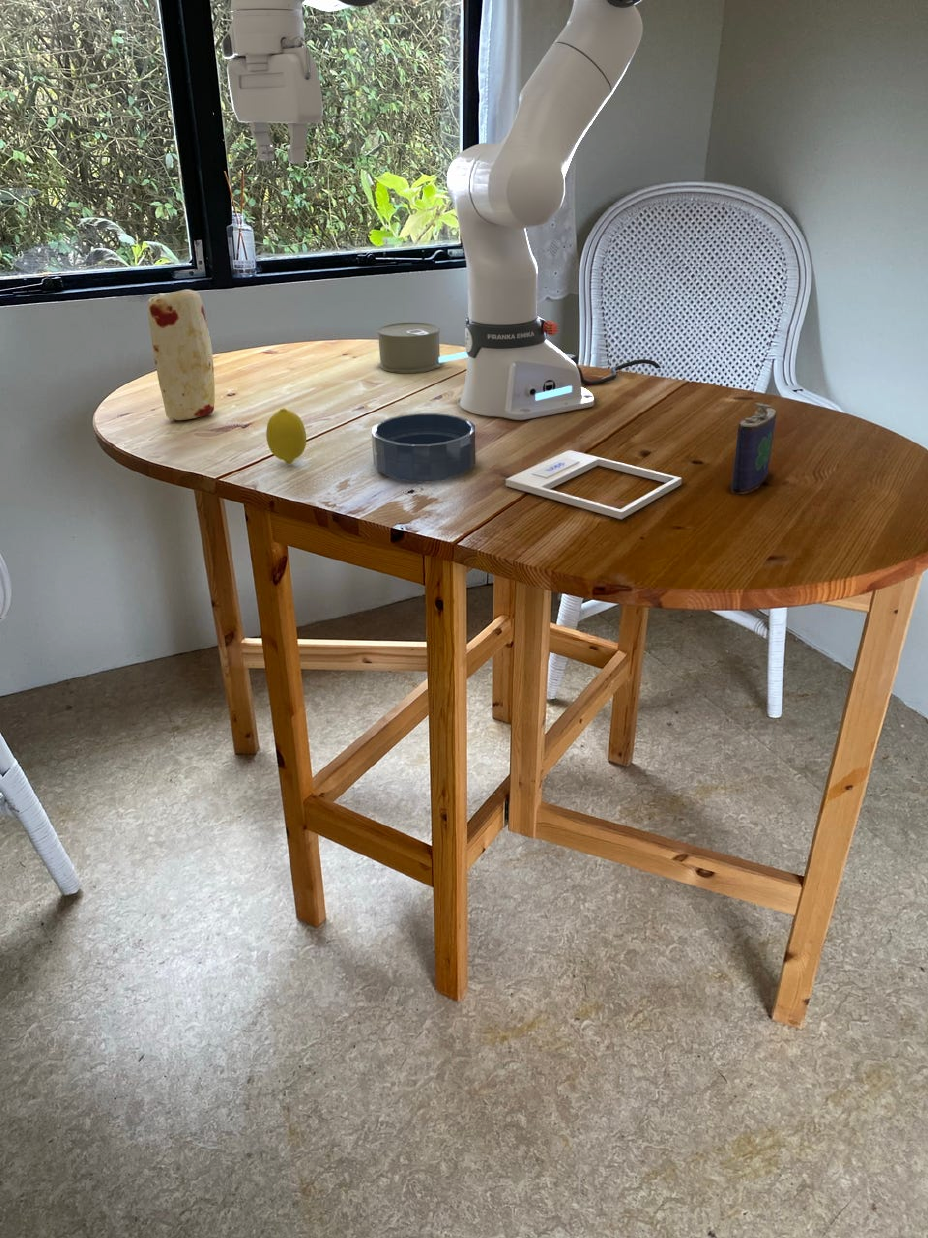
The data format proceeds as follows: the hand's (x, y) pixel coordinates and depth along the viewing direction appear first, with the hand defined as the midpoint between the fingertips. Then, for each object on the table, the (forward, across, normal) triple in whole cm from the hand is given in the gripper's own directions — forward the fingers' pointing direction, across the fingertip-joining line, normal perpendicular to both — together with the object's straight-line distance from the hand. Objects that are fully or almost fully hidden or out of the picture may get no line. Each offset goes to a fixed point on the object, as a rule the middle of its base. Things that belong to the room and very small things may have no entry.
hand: (281, 161), depth 123 cm
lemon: (+38, -9, +7) cm, 40 cm away
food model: (+38, +21, +10) cm, 45 cm away
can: (+38, +27, -35) cm, 58 cm away
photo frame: (+38, -42, -21) cm, 60 cm away
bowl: (+38, -22, -7) cm, 45 cm away
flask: (+38, -54, -38) cm, 76 cm away
